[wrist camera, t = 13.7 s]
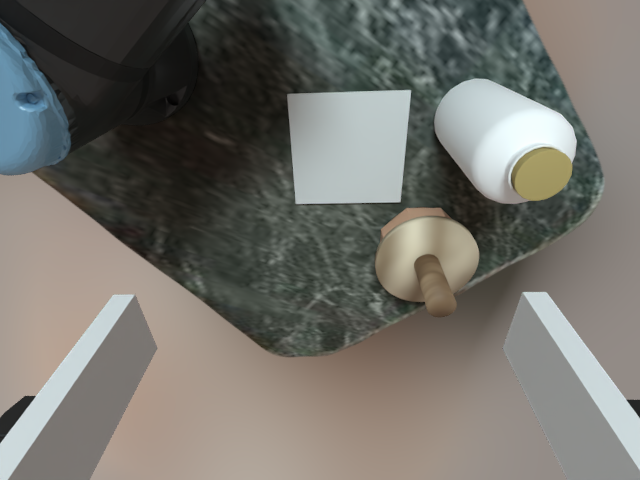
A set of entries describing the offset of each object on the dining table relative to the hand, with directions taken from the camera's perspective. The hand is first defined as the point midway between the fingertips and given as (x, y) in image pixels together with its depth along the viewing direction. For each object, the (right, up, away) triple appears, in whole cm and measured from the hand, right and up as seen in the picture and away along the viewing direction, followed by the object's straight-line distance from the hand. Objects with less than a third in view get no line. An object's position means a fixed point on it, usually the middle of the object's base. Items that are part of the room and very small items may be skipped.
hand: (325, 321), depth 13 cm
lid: (+14, 0, +35) cm, 37 cm away
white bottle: (+17, +18, +30) cm, 38 cm away
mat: (+3, +14, +32) cm, 35 cm away
